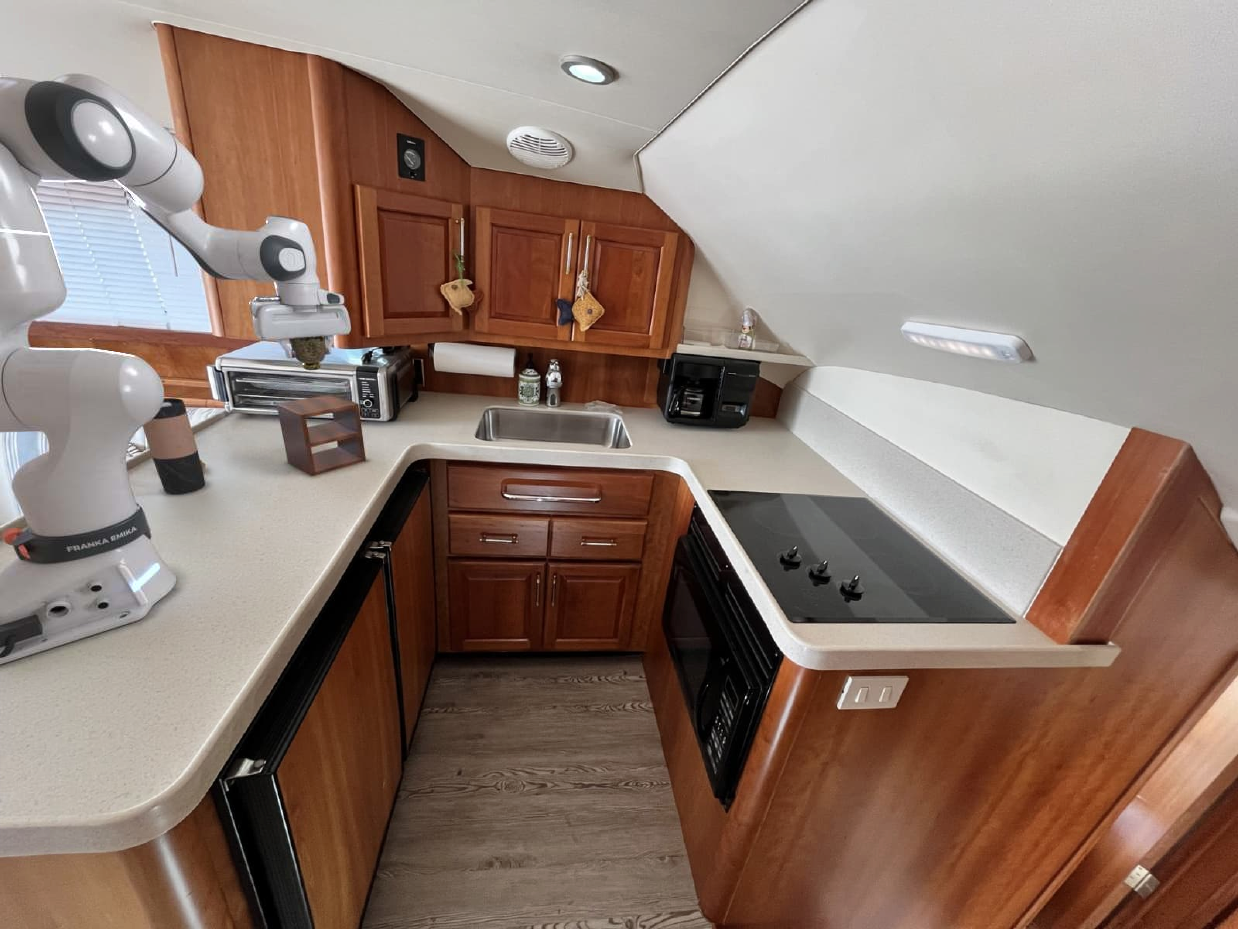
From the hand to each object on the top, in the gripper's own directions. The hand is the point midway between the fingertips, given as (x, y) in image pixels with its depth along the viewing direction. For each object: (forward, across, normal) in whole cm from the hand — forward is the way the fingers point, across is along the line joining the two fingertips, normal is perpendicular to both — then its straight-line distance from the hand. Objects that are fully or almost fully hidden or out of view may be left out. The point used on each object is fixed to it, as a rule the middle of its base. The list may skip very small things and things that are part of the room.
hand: (309, 355), depth 118 cm
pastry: (+28, -25, +19) cm, 42 cm away
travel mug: (+28, -28, +8) cm, 40 cm away
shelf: (+28, 0, +1) cm, 28 cm away
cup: (+3, 0, 0) cm, 3 cm away
